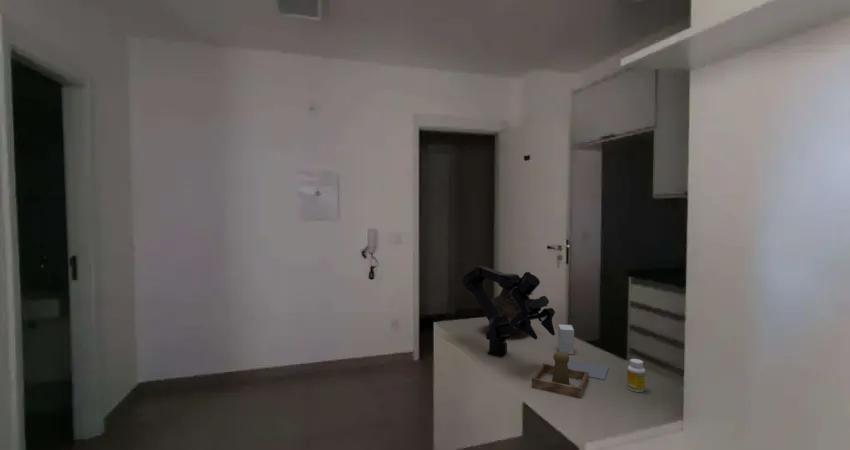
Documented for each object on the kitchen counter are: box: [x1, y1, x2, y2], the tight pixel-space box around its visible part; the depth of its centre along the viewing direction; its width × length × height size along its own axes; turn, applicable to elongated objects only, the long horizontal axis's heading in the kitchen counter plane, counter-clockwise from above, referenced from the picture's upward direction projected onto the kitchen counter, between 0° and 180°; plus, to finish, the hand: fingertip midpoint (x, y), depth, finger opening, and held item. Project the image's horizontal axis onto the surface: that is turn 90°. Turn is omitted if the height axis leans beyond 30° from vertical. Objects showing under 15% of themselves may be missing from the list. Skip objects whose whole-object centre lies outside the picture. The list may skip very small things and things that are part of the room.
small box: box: [557, 324, 575, 355], centre depth 180 cm, size 8×6×10 cm
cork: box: [551, 351, 571, 386], centre depth 147 cm, size 6×6×11 cm
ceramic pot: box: [484, 288, 533, 334], centre depth 205 cm, size 24×24×22 cm
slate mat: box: [567, 359, 610, 381], centre depth 160 cm, size 14×14×1 cm
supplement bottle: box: [626, 358, 646, 393], centre depth 144 cm, size 5×5×10 cm
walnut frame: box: [531, 363, 590, 399], centre depth 147 cm, size 16×16×3 cm
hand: (545, 336), depth 154 cm, fingers open, 9 cm apart
